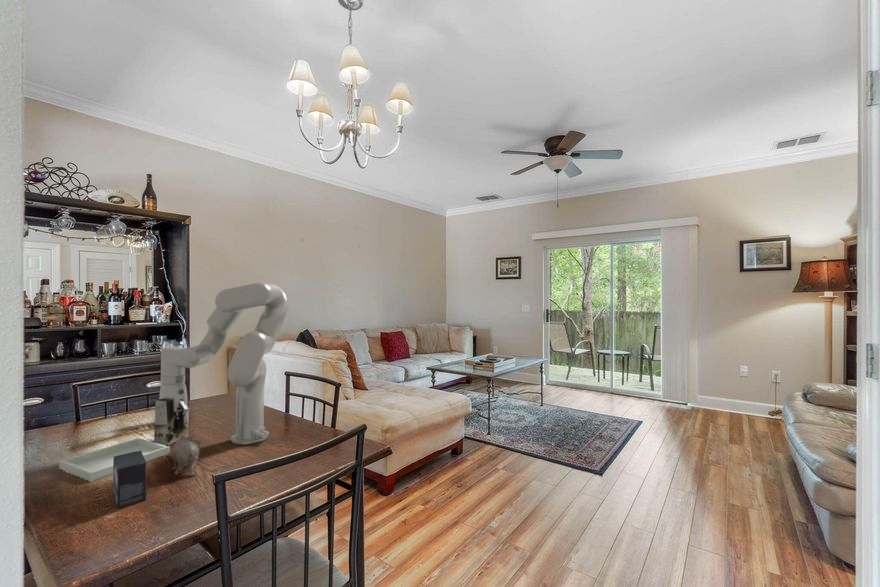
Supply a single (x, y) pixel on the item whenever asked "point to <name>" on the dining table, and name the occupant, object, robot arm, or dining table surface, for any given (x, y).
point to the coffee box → (168, 422)
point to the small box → (129, 478)
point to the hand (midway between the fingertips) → (172, 427)
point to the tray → (110, 458)
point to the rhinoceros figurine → (185, 454)
